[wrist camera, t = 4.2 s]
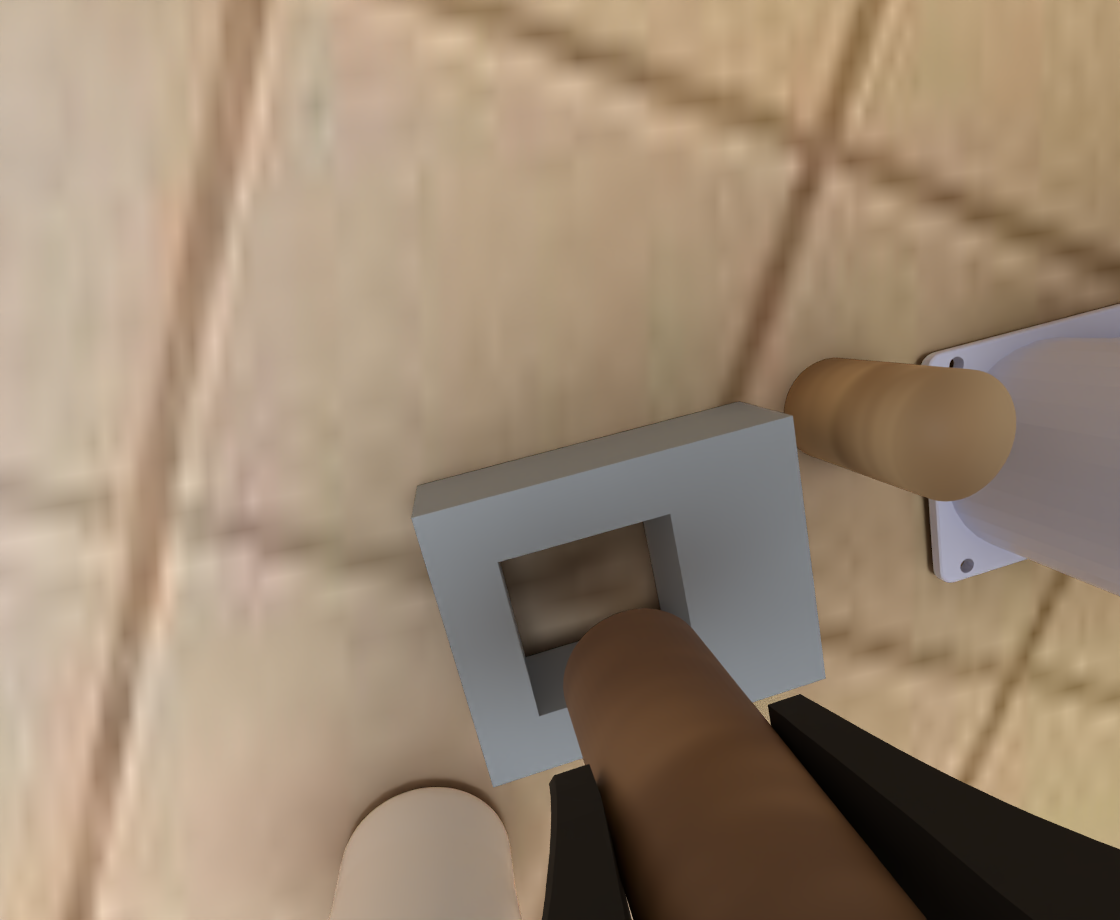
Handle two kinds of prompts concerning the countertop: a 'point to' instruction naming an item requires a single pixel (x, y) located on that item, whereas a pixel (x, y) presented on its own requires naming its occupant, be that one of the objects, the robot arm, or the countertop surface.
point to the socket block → (675, 550)
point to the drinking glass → (428, 861)
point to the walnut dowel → (709, 788)
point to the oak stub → (905, 423)
